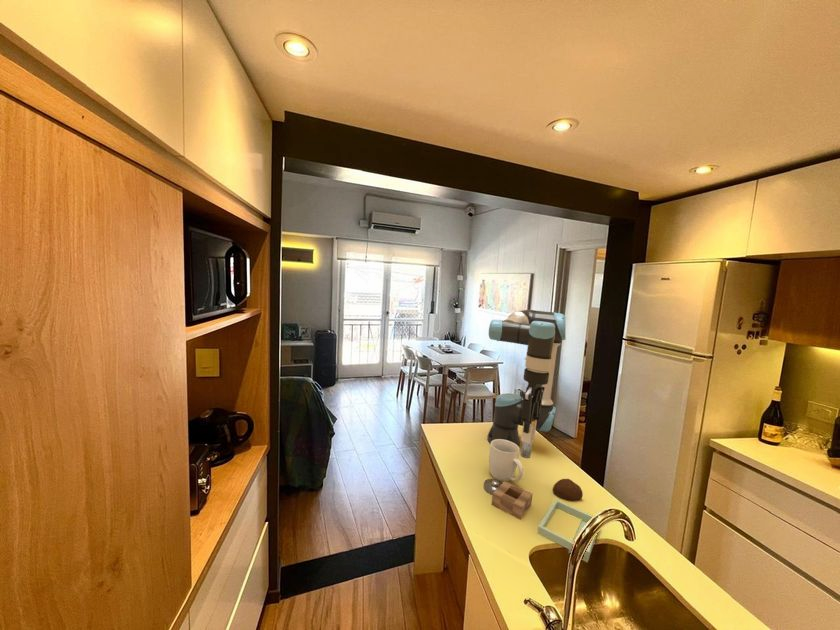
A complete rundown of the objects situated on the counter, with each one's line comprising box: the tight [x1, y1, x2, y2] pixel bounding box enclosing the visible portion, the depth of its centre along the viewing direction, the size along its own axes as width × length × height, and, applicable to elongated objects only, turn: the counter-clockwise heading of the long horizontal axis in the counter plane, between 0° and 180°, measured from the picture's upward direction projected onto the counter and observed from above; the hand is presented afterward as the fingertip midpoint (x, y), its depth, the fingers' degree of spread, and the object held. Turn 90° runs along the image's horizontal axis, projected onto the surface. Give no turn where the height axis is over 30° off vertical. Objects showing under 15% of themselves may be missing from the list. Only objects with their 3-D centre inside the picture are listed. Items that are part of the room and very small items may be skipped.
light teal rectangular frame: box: [537, 498, 598, 563], centre depth 104 cm, size 18×14×3 cm
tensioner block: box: [491, 481, 533, 520], centre depth 113 cm, size 10×10×5 cm
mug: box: [488, 439, 524, 482], centre depth 128 cm, size 15×11×13 cm
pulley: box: [483, 478, 504, 496], centre depth 121 cm, size 8×8×4 cm
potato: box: [552, 478, 584, 501], centre depth 121 cm, size 7×10×7 cm
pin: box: [520, 419, 535, 459], centre depth 109 cm, size 3×3×12 cm
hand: (527, 439), depth 109 cm, fingers closed on pin, 3 cm apart
